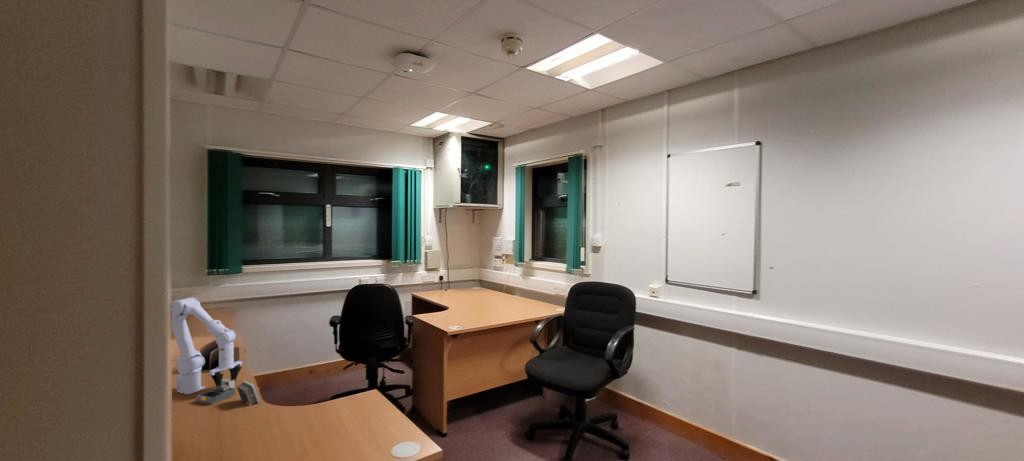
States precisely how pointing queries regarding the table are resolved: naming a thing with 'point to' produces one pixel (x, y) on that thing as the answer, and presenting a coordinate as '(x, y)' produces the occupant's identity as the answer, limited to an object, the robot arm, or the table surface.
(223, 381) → the grey block
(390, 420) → the table surface
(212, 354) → the letter holder
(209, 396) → the rack
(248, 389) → the electrical switch
